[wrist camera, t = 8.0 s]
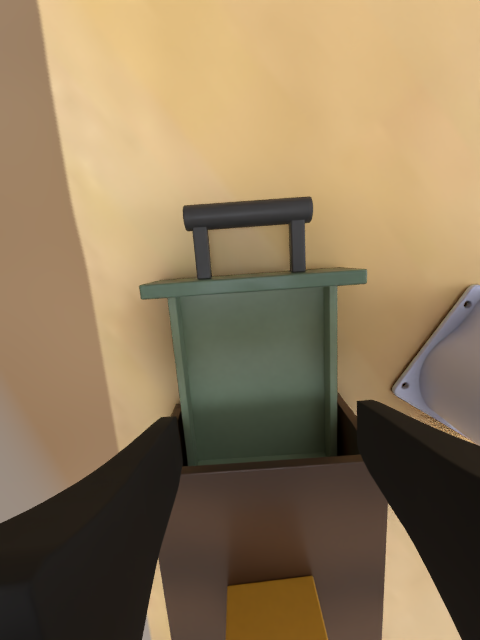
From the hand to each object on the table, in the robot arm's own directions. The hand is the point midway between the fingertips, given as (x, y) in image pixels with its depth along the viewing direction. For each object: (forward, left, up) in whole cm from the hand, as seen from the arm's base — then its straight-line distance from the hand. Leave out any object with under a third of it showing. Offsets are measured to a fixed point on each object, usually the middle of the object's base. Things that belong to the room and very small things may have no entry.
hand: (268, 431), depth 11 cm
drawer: (-1, 0, -10) cm, 10 cm away
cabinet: (+9, +6, -10) cm, 15 cm away
